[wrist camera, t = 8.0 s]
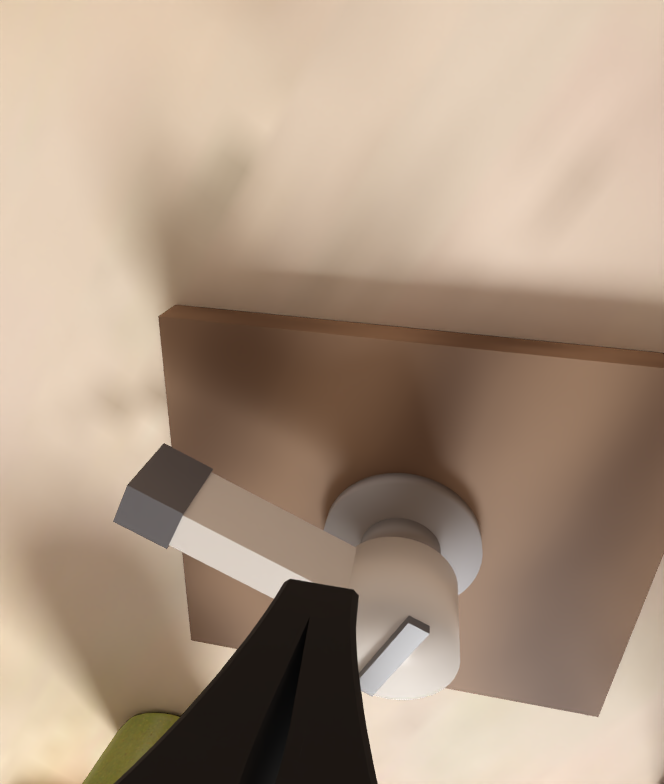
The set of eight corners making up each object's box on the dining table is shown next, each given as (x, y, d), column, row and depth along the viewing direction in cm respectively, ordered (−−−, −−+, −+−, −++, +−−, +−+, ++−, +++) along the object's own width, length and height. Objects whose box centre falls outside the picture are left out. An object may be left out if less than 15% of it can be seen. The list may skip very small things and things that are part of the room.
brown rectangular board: (715, 358, 15) (771, 406, 13) (590, 687, 22) (611, 766, 19) (175, 304, 18) (128, 336, 15) (202, 617, 24) (172, 678, 21)
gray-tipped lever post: (176, 413, 16) (127, 467, 13) (481, 573, 16) (488, 654, 14) (140, 501, 17) (90, 562, 15) (418, 643, 18) (414, 726, 15)
